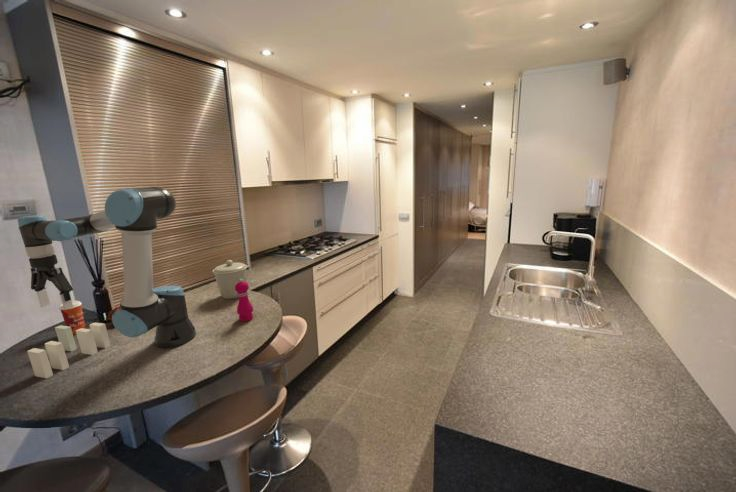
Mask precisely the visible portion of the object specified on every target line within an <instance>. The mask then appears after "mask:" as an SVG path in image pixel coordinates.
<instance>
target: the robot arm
mask: <svg viewBox="0 0 736 492" xmlns="http://www.w3.org/2000/svg"><path fill="white" fill-rule="evenodd" d="M176 207H177V202H176V198H175V196H174V195H173V194H172V193H171V192H170V191H169V190H168V189H165V188H163V187H159V186H149V187H138V188H137V187H135V188H134V187H133V188H129V187H128V188H124V189H118V190H115V191H113V192H111V194H109V195H108V197H107V198H106V200H105V203H104V209H103V210H101V211H98V212H95V213H91V214H88V215H83V216H78V217H70V218H69V217H68V218H62V219H55V220H47V218H46V215H42V214H35V215H26V216H19V217H18V218H17V225H18V230H19V233H20V235H21V239H22V242H23V244H24V245H23V246H24V249H25V252H26V256H27V258H29V259H28V262H29V264H30V267H31V268H30V273H31V276H30V277H31V278H30V279H31V280H30V288H31V290H34V291H35V292H36V295H37V299H38V301H39V305H40V307H41V308H44V307H47V306H49V305H51V302H50V299H49V295H48V291H47V288H46V283H47V281H48V282H51V283H52V284H53V286H55V288H56V289H57V291H59V296H60V300H61V304H63V307H64V310H67V309H69V308H72V307H73V304H72V301H73V300H72V298H71V294H70V292H73V290H74V288H73V287H72V285H71V283H70V282H69V280H68V278H67V277H66V275H65V274H64V271H63V269H62V267H56V266H55V265H57V264H58V263H59V262H58V258H57V255H56V254H55V253H56V251H55V248H54V247H55V245H54V244H53V242H65V241H70V240H71V241H72V240H73V239H74V238H80V237H83V236H88V235H96V234H100V233H104V232H107V231H108V230H110V229H114V228H115V229H116V230H117V231H118V232H120V233H121V249H122V267H123V286H124V288H123V290H124V296H123V297H121V298H120V299H119V306H120V310H117V311H116V312H115V313H114V314H113V316H112V321H111V323H112V322H113V323H112V324H113V326H114V328H115V329H116V330H117V332H119V333H120V334H121V335H123V336H124V337H127V338H134V339H135V338H137V337H140V336H142V335H144V334H145V335H146V334H147V333H148V332H150V331H151V330H153V329H154V328H155V336H154V339H153V340H154V344H155V346H156V347H158V348H161V349H163V348H164V349H165V348H167V349H168V348H174V347H177V346H181V345H184V344H187V342H189V341H191V340H193V338H195V337H196V335H197V332H196V331H197V330H196V327H195V326H194V325H193V323H192V321H191V320H190V318H189V314H188V307H187V302H186V297H185V293H184V289H183V288H182V286H179V285H164V286H158V287H154V270H153V269H154V265H153V263H154V262H153V232H154V231H156V230H157V229H158V227H157V225H158V222H157V220H160V219H161V220H163V219H165V218H168V217H170V216H171V215H172V214H173V213H174V212H175V210H176Z"/></svg>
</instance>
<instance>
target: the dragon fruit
mask: <svg viewBox="0 0 736 492" xmlns="http://www.w3.org/2000/svg"><path fill="white" fill-rule="evenodd" d="M117 310H120V305H119V306H115V307H114V308H113V309H110V311H109V312H108V314H107V315H106V316H107V317H105V321H107V322H108V321H110V322H111V323H112V324H113V322H112V316H113V314H114V313H115V312H116V311H117Z"/></svg>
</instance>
